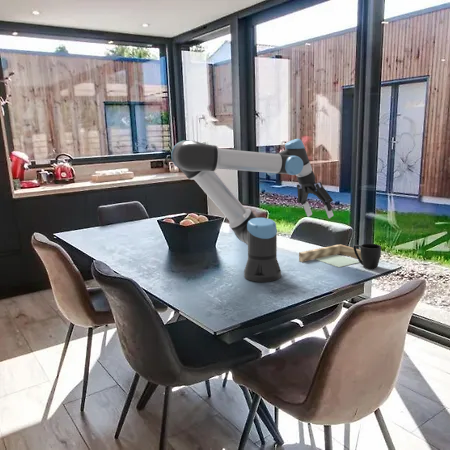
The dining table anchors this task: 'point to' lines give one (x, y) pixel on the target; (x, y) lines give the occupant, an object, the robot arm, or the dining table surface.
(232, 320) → the dining table surface
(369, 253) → the mug
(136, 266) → the dining table surface
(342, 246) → the tan bent bar
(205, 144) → the robot arm
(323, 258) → the mat
